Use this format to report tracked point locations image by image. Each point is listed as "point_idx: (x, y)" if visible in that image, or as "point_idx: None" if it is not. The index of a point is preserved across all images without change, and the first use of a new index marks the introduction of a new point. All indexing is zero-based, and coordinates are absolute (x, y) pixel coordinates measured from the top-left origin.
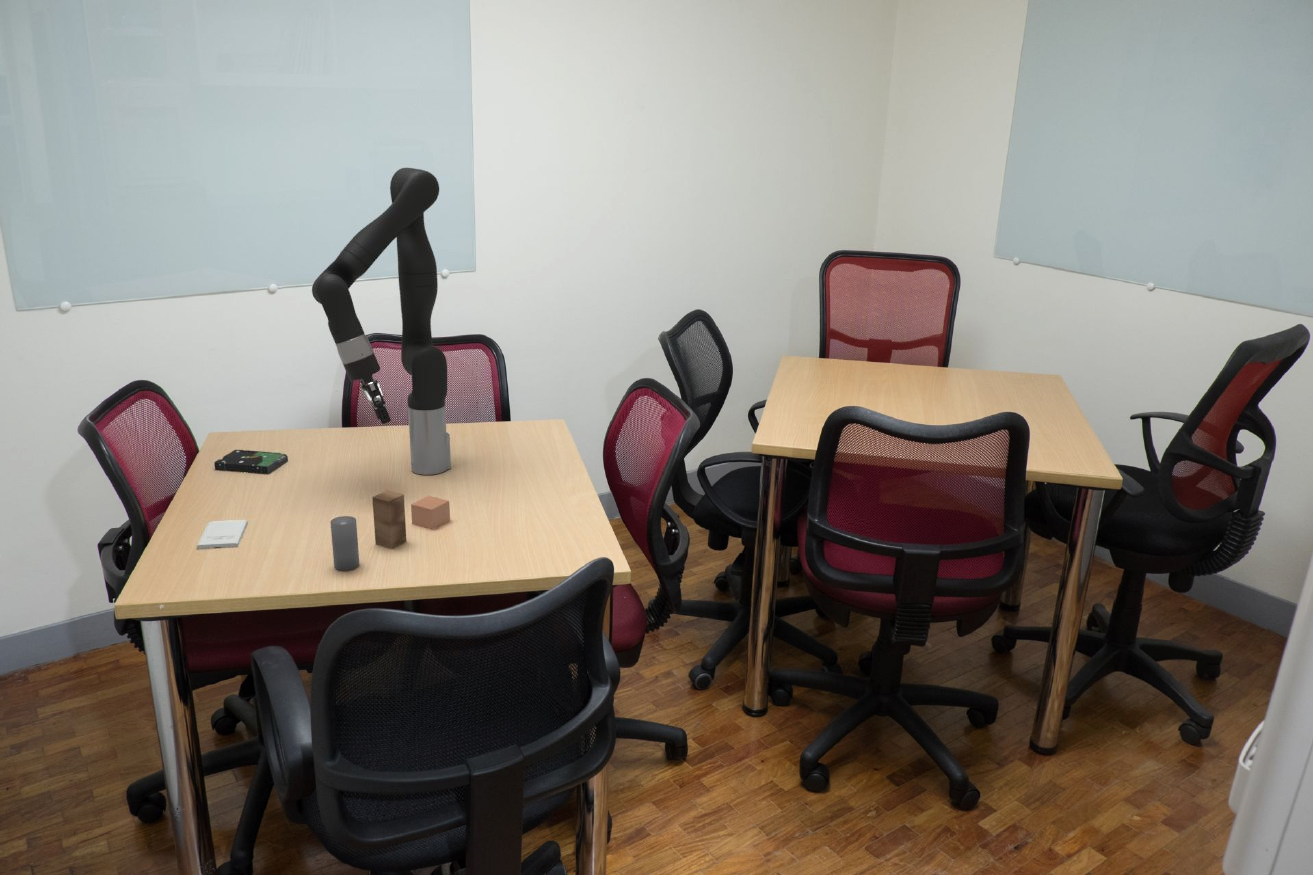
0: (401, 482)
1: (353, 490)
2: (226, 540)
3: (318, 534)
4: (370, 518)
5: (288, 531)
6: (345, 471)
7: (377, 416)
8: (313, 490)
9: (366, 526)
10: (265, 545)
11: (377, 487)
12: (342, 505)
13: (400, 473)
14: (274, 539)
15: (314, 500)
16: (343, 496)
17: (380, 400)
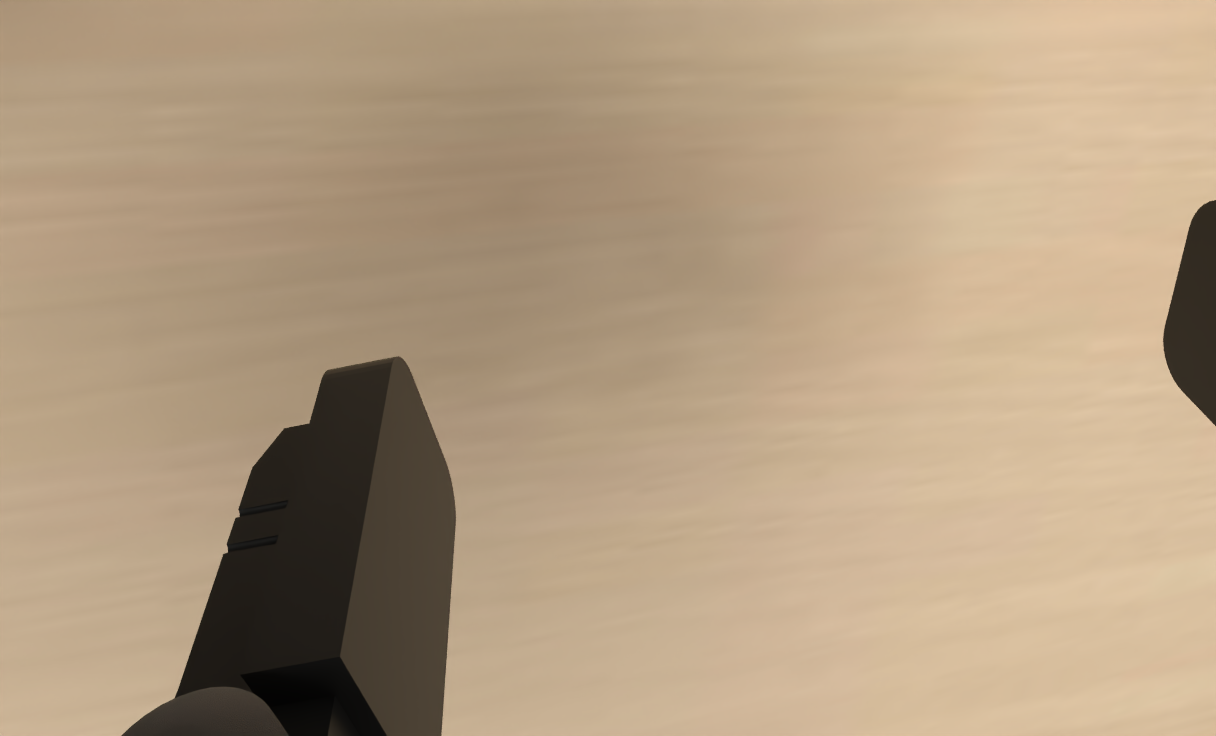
0: (329, 84)
1: (496, 452)
2: None
3: (1157, 517)
4: (1019, 260)
5: (1075, 671)
6: (51, 589)
7: (449, 547)
8: (476, 707)
9: (1131, 269)
10: (1202, 722)
11: (443, 282)
12: (770, 473)
13: (76, 109)
14: (1149, 705)
15: (658, 657)
16: (609, 498)
17: (279, 733)
